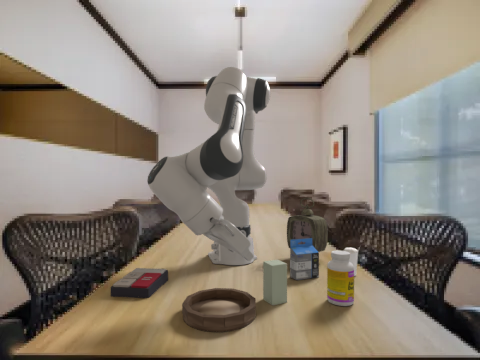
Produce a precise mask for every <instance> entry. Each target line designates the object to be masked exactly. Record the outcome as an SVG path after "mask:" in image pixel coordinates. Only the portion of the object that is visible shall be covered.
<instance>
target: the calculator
mask: <svg viewBox="0 0 480 360" xmlns="http://www.w3.org/2000/svg"><path fill="white" fill-rule="evenodd" d="M167 282H169V270H168V269H167V268H152V267H150V268H149V267H148V268H147V267H146V268H144V267H137V268H136V267H135V268H133V270H132V271H129V272H128V273H127V274H126V275H124V276H122V278H120V279H117V281H115V283H113V284H112V285H111V286H110V288H109V289H110V297H111V298H112V297H113V298H134V299H135V298H136V299H150V298H151V297H152V296H153V295H154V294H155V293H156V292H157V291H158V290H159V289H160V288H161V287H162V286H163V285H165V284H166V283H167Z"/></svg>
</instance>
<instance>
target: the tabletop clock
mask: <svg viewBox="0 0 480 360" xmlns="http://www.w3.org/2000/svg"><path fill="white" fill-rule="evenodd" d="M304 200H309V201H311V202H312V205H311V206H309V204H306V205H303V204H302V202H303V201H304ZM299 204H300V206H301V207H302V208H304V209H302V210H301V212H300V215H291V216H289V217H288V219H287V223H286V241H287V246H288V248H289V249H290V240H292V239H306V238H312V245H313V247H314V248H315V249H316V250H317V251H318V252H319V253H320V252H324V251H326V248H327V244H328V235H329V234H328V232H329V231H328V223H327V220H326V219H325V218H324V217H322V216H319V215H314V211H313V210H312V208H314V206H315V201H314V199H313V198H311V197H303V198H301V200H300V203H299ZM298 244H305V242H302V241H301V242H300V243H298Z"/></svg>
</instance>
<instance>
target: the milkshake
mask: <svg viewBox="0 0 480 360" xmlns="http://www.w3.org/2000/svg"><path fill="white" fill-rule="evenodd" d="M360 248H361V245H360V246H359V247H358V249H356V248H355V247H345V248H344V249H343V251H347V252H349V253H350V259H349V262H351V263H352V264H353V266H354V277H356V276H357V270H358V269H357V267H358V257H359V250H360Z"/></svg>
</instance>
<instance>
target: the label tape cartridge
mask: <svg viewBox="0 0 480 360" xmlns="http://www.w3.org/2000/svg"><path fill="white" fill-rule="evenodd" d="M301 241H302V242H305V244H298V243H300V242H301ZM289 249H290V250H289V255H290V256H289V278H290V279H291V278H292V279H293V280H295V281H301V280H308V279H315V278H319V276H320V262H319V261H320V252H318V251H317V250H316V249H315V248H314V247H313V245H312V238H306V239H292V240H290V248H289Z"/></svg>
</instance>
